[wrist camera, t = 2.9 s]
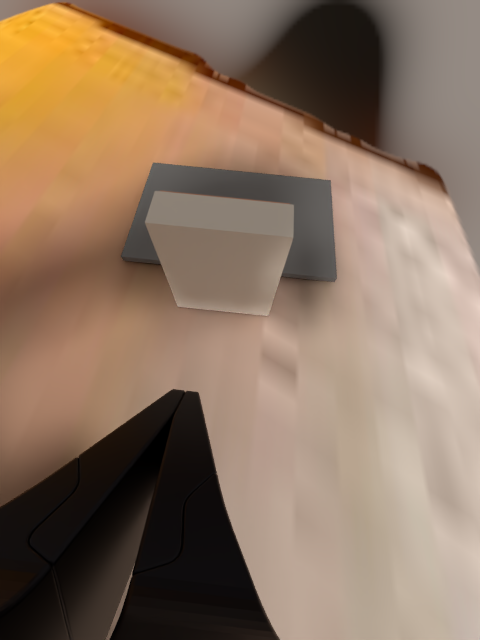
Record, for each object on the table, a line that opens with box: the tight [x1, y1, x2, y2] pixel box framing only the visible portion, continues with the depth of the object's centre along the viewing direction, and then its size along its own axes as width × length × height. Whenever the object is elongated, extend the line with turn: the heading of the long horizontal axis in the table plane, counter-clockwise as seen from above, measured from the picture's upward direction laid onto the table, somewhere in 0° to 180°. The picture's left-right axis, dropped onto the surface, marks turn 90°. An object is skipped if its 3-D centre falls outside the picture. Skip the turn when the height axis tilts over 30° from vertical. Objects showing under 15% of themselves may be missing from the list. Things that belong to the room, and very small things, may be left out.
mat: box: [121, 163, 337, 282], centre depth 27 cm, size 13×20×1 cm, turn 85°
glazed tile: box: [145, 190, 294, 316], centre depth 19 cm, size 3×8×10 cm, turn 85°
